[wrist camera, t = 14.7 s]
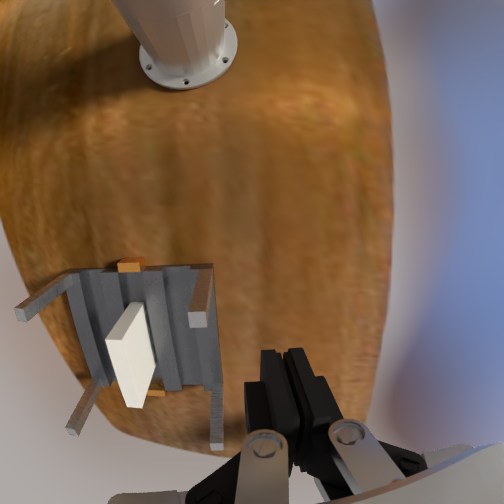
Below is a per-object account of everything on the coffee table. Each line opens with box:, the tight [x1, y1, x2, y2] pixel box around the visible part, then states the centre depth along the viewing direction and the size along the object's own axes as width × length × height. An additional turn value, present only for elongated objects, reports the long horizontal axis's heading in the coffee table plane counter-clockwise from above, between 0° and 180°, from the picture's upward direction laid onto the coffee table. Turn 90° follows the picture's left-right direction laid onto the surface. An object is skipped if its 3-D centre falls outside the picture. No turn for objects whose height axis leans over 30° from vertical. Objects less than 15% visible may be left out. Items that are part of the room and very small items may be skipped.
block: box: [105, 302, 157, 408], centre depth 33 cm, size 10×2×10 cm, turn 2°
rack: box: [14, 257, 224, 450], centre depth 32 cm, size 21×21×14 cm
